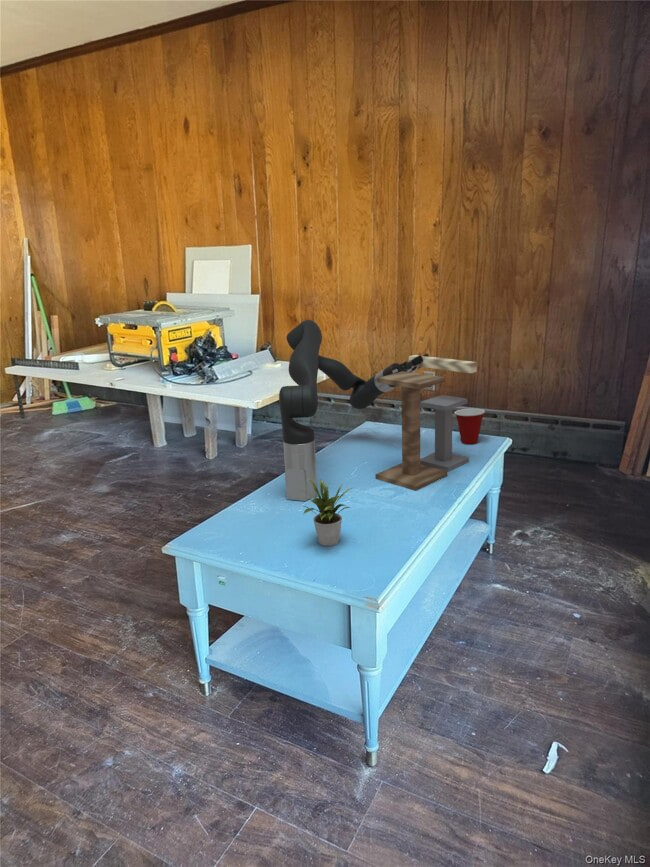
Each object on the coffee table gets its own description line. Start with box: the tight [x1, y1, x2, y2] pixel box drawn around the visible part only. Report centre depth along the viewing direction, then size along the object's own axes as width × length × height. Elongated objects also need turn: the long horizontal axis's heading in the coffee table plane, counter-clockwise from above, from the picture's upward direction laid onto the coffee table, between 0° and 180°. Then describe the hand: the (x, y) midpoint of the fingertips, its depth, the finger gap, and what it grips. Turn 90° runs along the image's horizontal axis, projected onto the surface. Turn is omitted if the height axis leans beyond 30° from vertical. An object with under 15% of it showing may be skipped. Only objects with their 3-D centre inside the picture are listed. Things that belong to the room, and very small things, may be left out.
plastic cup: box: [454, 408, 486, 445], centre depth 218 cm, size 11×11×12 cm
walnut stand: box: [375, 371, 449, 492], centre depth 184 cm, size 16×16×32 cm
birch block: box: [408, 354, 478, 374], centre depth 191 cm, size 24×3×3 cm, turn 44°
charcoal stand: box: [420, 394, 470, 472], centre depth 196 cm, size 12×12×22 cm
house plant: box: [303, 478, 354, 547], centre depth 147 cm, size 14×14×16 cm
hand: (425, 357), depth 195 cm, fingers closed on birch block, 3 cm apart
